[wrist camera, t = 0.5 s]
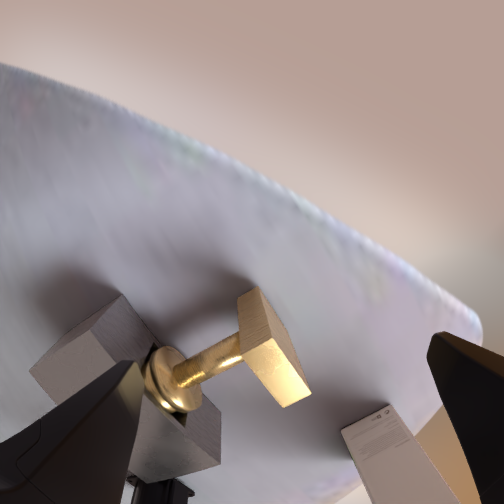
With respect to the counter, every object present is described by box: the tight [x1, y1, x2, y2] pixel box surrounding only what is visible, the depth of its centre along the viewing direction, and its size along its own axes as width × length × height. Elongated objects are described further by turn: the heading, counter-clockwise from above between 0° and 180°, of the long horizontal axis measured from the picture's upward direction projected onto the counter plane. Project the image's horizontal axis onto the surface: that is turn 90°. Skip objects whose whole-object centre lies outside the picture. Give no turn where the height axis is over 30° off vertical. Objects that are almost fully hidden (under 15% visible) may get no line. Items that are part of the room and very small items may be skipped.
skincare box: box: [341, 405, 461, 504], centre depth 19 cm, size 8×7×16 cm
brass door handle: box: [140, 286, 311, 414], centre depth 19 cm, size 14×5×8 cm, turn 121°
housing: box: [29, 294, 221, 484], centre depth 20 cm, size 8×14×6 cm, turn 31°
